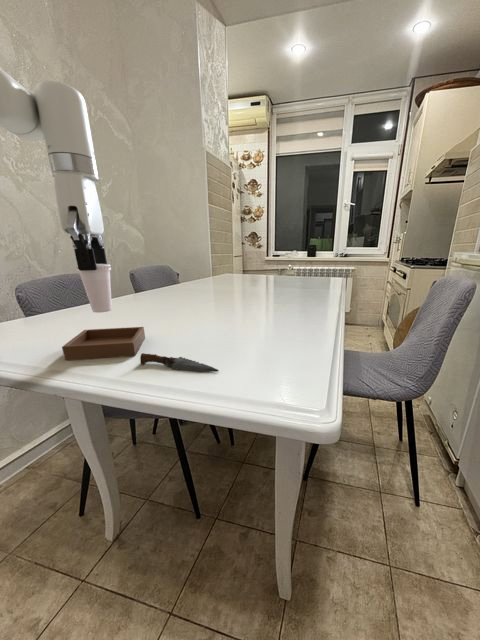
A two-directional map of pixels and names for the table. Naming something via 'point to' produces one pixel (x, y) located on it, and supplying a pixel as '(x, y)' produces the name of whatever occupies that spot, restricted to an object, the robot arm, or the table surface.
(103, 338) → the tray
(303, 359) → the table surface
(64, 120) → the robot arm
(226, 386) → the table surface
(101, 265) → the smoothie
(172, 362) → the knife
